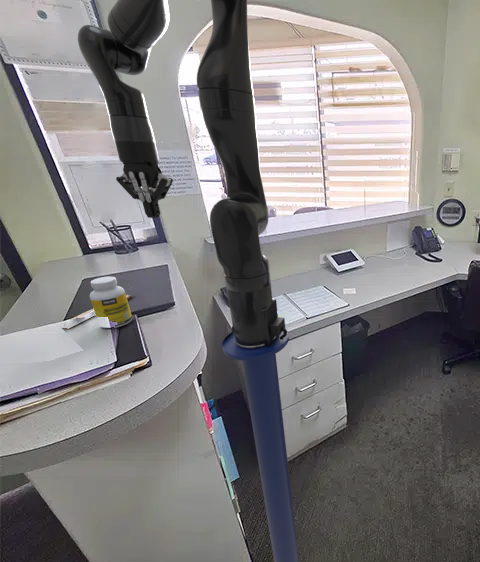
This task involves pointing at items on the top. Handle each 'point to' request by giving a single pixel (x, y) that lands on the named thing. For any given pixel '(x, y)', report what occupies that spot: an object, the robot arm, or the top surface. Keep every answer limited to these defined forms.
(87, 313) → the ruler
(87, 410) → the top surface
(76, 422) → the top surface
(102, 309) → the pill bottle
